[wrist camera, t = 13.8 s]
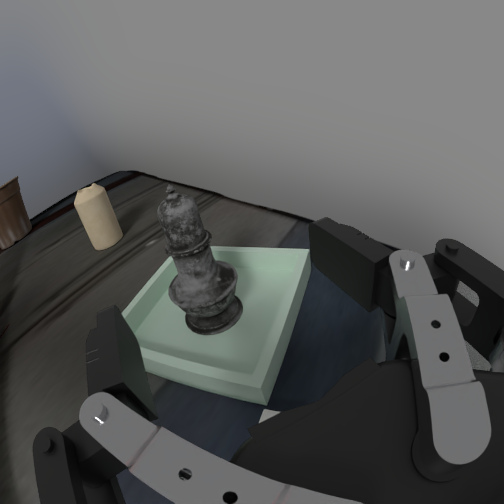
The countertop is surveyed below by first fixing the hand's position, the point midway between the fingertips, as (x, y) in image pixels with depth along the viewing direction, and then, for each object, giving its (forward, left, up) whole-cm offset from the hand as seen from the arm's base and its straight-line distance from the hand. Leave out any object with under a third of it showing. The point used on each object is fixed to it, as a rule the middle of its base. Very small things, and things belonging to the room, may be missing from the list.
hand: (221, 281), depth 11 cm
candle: (-34, +19, -12) cm, 40 cm away
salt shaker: (-7, +8, -11) cm, 15 cm away
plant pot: (-82, +20, -12) cm, 85 cm away
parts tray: (-7, +8, -11) cm, 16 cm away
